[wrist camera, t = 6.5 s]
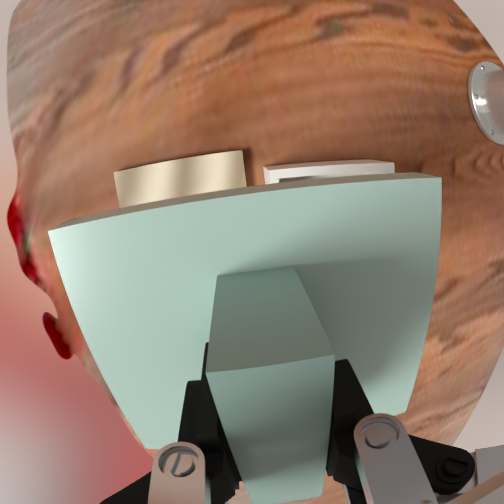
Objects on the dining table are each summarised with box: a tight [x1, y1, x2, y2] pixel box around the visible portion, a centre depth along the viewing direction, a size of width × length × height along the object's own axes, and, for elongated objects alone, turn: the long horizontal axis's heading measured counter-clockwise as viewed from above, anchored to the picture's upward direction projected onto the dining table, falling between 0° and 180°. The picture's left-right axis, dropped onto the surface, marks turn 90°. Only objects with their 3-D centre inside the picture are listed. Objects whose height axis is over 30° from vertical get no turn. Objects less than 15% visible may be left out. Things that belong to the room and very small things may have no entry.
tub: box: [263, 159, 395, 184], centre depth 29 cm, size 12×10×6 cm
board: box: [114, 150, 247, 208], centre depth 32 cm, size 14×14×1 cm
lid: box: [48, 172, 442, 504], centre depth 9 cm, size 14×12×6 cm
